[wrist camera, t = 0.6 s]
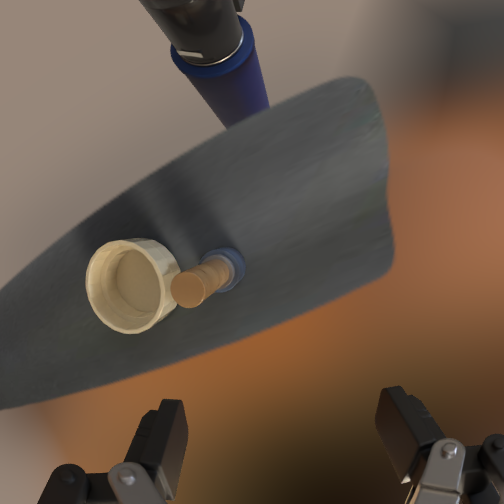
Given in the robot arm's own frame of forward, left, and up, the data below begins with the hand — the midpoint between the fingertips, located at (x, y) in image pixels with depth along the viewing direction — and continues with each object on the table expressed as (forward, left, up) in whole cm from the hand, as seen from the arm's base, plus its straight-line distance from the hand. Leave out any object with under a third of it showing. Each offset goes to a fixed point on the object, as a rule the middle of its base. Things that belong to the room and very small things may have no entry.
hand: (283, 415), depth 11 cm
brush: (-1, -8, -26) cm, 27 cm away
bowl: (+2, -18, -26) cm, 31 cm away
